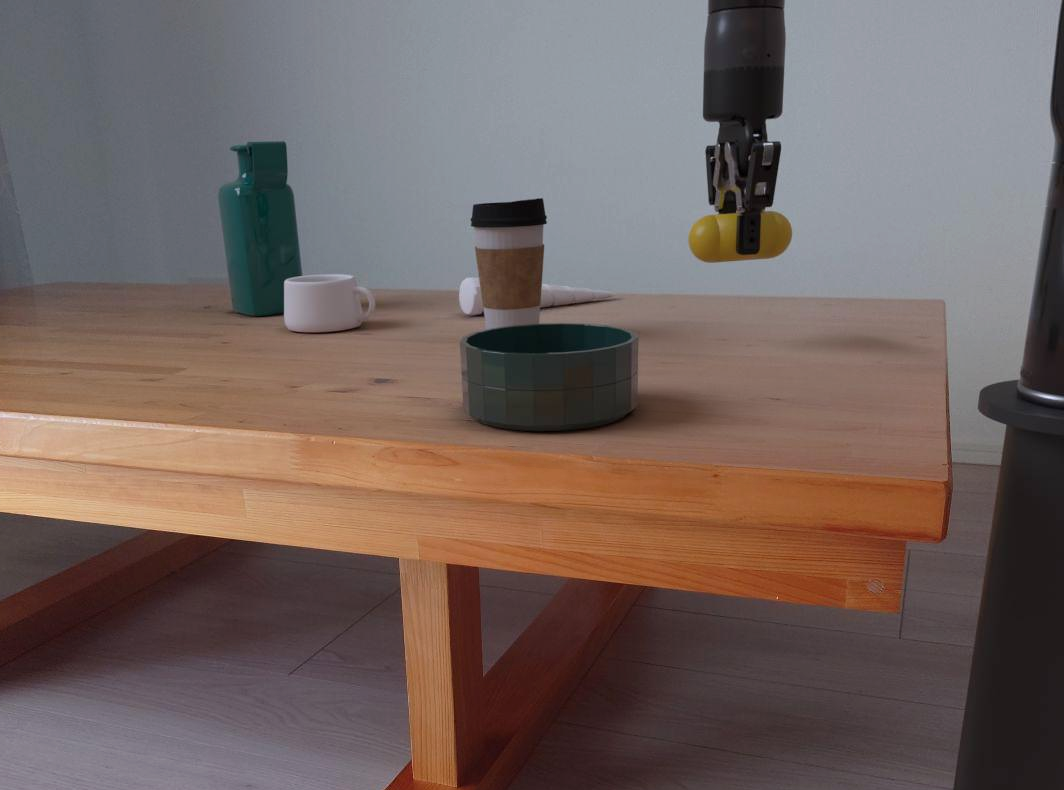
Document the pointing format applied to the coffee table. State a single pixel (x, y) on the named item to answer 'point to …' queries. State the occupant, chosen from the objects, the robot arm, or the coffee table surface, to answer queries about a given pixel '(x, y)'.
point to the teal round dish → (549, 375)
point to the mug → (324, 303)
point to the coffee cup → (510, 260)
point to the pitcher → (260, 229)
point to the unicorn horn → (549, 296)
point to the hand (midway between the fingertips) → (737, 251)
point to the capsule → (718, 237)
